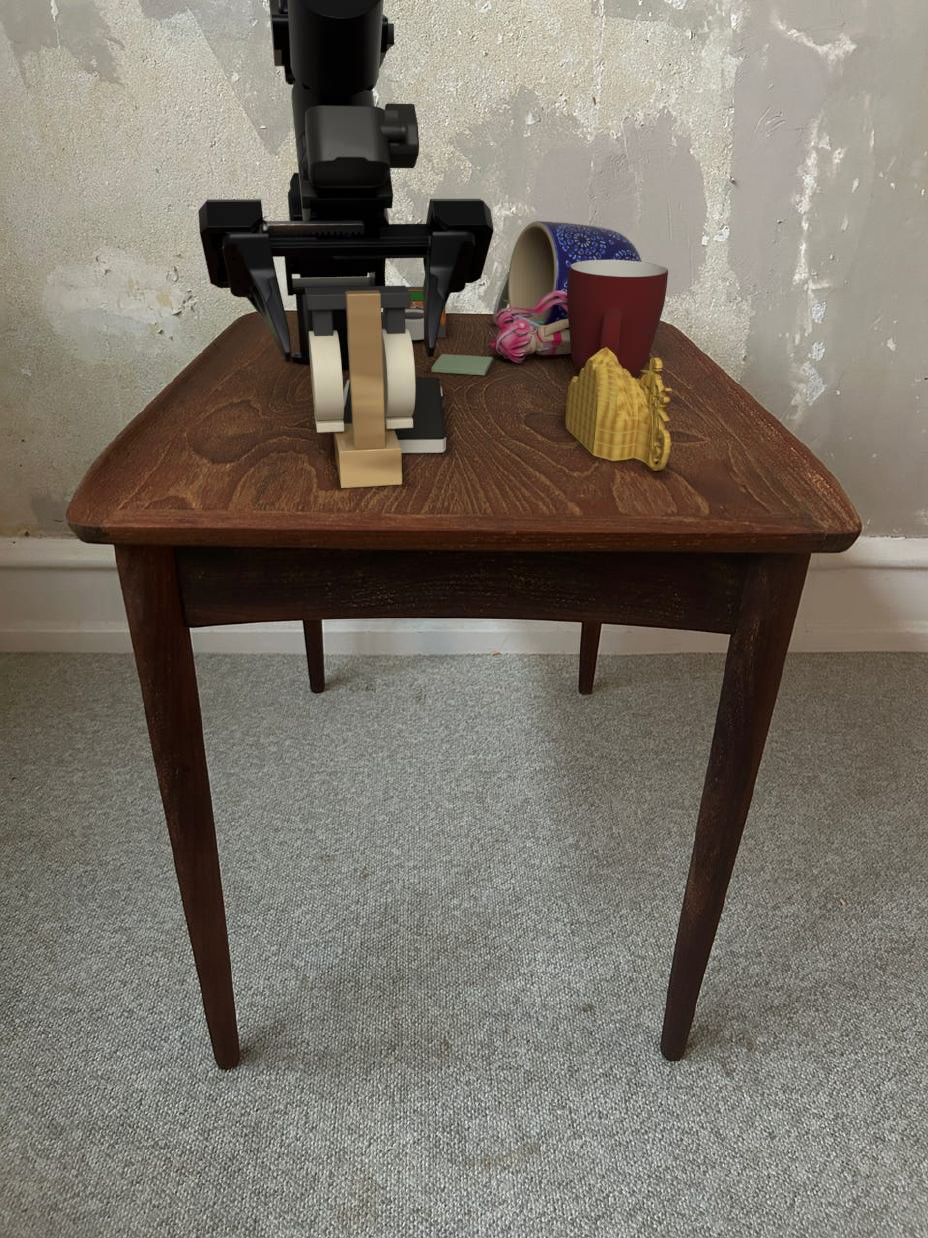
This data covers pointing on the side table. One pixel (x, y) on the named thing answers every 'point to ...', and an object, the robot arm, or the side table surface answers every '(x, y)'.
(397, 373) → the headphones
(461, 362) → the felt mat
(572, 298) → the mug
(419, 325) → the electronic device
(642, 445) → the figurine
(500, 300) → the figurine
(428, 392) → the smartphone
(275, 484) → the side table surface
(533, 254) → the planter
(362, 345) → the hook stand
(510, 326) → the toy
